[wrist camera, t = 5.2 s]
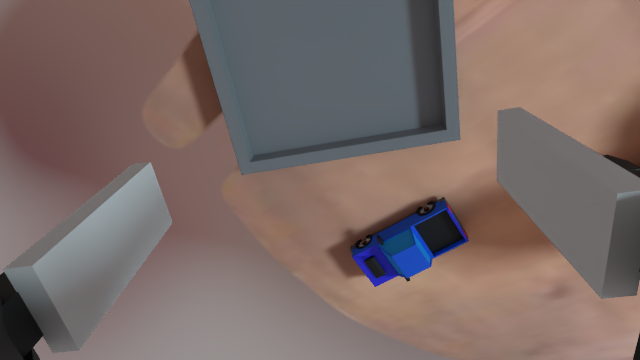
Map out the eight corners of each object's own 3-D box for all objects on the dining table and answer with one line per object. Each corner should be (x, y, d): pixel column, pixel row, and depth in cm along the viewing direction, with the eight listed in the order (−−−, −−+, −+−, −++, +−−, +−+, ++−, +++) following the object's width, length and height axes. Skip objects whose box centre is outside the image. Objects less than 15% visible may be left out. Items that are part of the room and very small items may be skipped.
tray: (171, -94, 34) (159, -100, 31) (436, -161, 31) (444, -174, 29) (246, 165, 43) (241, 174, 41) (453, 131, 41) (460, 139, 38)
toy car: (346, 237, 47) (347, 263, 43) (438, 187, 44) (449, 209, 39) (375, 276, 49) (379, 304, 45) (465, 231, 46) (479, 257, 41)
